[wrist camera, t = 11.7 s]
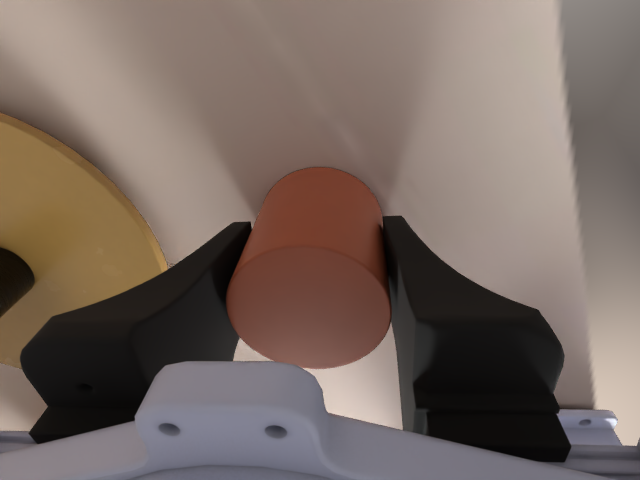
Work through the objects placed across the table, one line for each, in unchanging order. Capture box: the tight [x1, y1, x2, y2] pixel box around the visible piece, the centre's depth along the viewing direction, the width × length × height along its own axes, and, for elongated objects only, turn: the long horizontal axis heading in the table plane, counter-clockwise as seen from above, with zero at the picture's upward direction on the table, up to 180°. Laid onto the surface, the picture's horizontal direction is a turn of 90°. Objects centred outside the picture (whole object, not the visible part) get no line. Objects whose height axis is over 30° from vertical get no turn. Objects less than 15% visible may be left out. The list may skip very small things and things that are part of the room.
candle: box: [226, 167, 392, 369], centre depth 13 cm, size 5×5×5 cm
